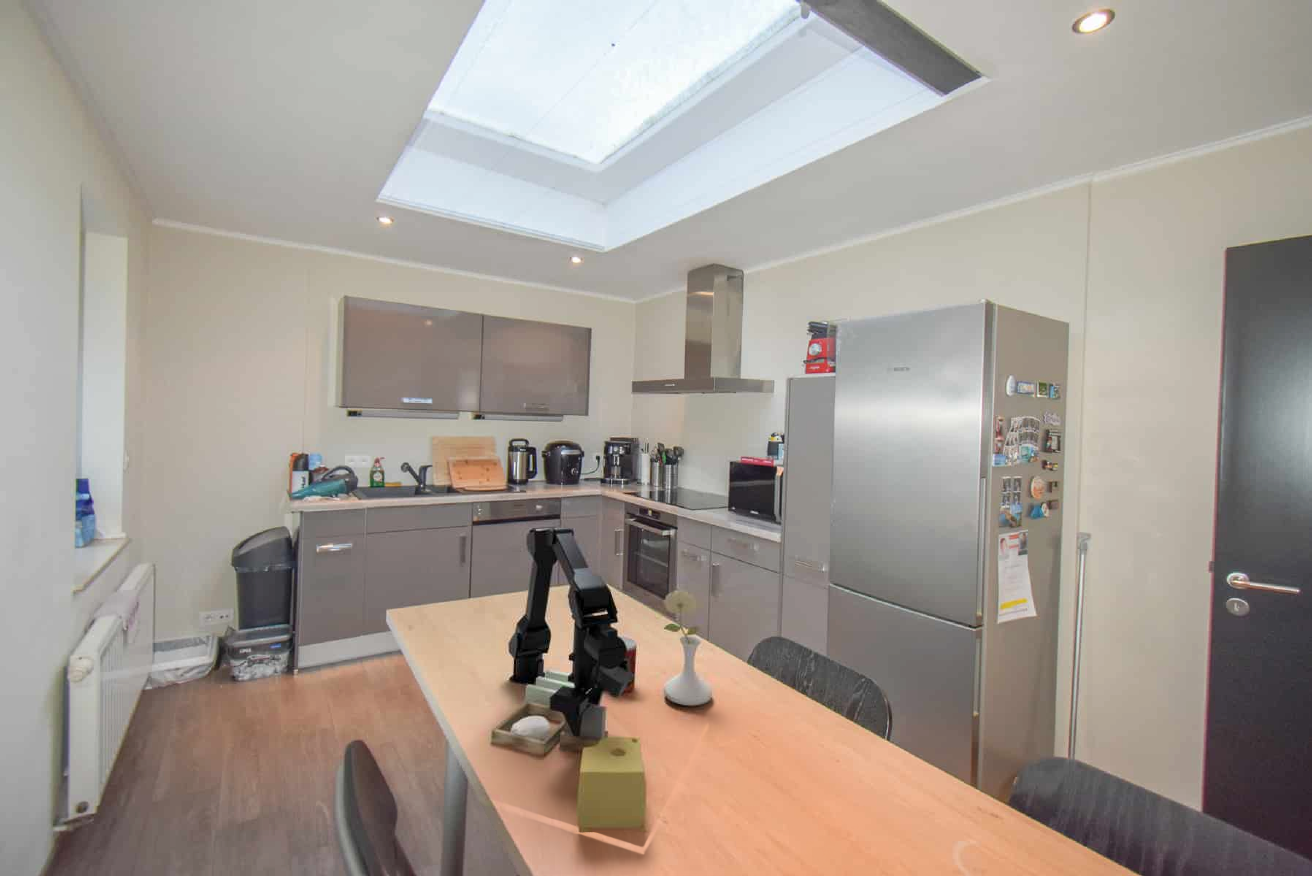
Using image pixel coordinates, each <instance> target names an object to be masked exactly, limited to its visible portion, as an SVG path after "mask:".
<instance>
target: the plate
mask: <svg viewBox="0 0 1312 876" xmlns="http://www.w3.org/2000/svg"><path fill="white" fill-rule="evenodd" d="M588 704H590V705H591V706H590V707H589V708H588V709H587V710H586V711H585V712H584V713H583V719H582V725H581V730H580V735H581V736H584V737H588V738H592V739H596V740H600V739H603V738H605V731H606V718H607V715H606V714H607V706H604V705H603V706H602V705H601V704H600V705H595V704H591V703H588ZM564 731H565V732H569V733H572V732H571V730H570V727H569V725H568V723H567V721H566V719H565V722H564Z"/></svg>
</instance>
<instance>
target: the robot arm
mask: <svg viewBox="0 0 1312 876" xmlns="http://www.w3.org/2000/svg"><path fill="white" fill-rule="evenodd" d="M574 533H575V532H574V530H573V527H569V526H544V527H543V526H542V527H532V528H531V529H530V530H529V532H528V533H527V534H526V546H527V551H528V553H529V556H530V557H531V559H532V564H531V570H530V571H531V573H530V579H529V584H528V585H529V586H528V592H527V599H526V606H525V612H524V613H525V614H523V615H522V617H521V618H520V620H518V621H517V623H516V626H515V631H514V633H513V635H512V636H511V638H510V640H509V642H508V646H507V647H508V653H509V655H510V657H512V658H513V666H512V667H513V669H512V675H511V676H510V677H509V679H508V681H512V682H516V683H519V684H525V685H528V684H531V685H535V684H536V678H537V677H539V676H540V677H544V676H546V671H544V670H545V669H544V668H545V667H544V666H545V660H544V659H543V657H544V654H549V649H550V646H551V639H552V631H551V628H550V626H549V625H548V623H547V621H546V616H547V615H546V614H547V607H548V602H549V595H550V590H551V589H550V587H551V583H552V577H553V576H552V575H553V568H554V565H555V564H556V563H557V562H559V564H560V566H561V568H562V572H563V573H564V576H565V577H566V580H567V582H568V585H569V589H568V594H567V598H568V606H569V609H570V612H571V619H573V620H574V625H573V643H572V645H573V648H572V649H573V650H572V652H571V653H569V654H568V661H571V662H572V671H571V673H570V675H569V676H568V682H573V683H574V687H575V688H570V687H566V686H562V687H561V688H560V689H559V690H558V691H557V692H555V693H554V694H553V695H552V696H551V697H550V698H549V708H550V710H554V711H558V712H562V713H563V715H564V717H565V719H566V721H567V723H568V725H569V727H570V730H571V732H572V734H573V736H575V737H579V735H580V730H581V725H582V719H583V713H584V712H585V711H586V710H587V709H588V708H589V707H590V706H591V705H590V704H588V703H591V704H595V705H600V706H601V701H602V700H603V699H602V698H603V695H604V692H606V691H607V692H606V693H608V692H609V694H610V696H612V697H614V698H618V697H620V696H621V695H622V694H621V693H622V692H623V691H624V690H625V689H626V686H627V684H628V681H629V680H630V678H631V677H632V675H631V673H632V671H631V666H630V661H628V660H627V659H625V656H626V652H627V647H626V645H625V642H624V641H623V640H622V639H621V638H620V637H621V636H620V635H618V633H619V632H618V629H616V628H614V627H612V626H611V625H612V624H618V622H619V618H618V615H617V614H618V613H619V612H618V609H617V605H616V603H615V600H614V597H613V594H612V591H611V589H610V587H609V586H608V584H607V583H606V581H605V580H604V579H603V577H602V576H601V575H599V574H597V573H596V572H594V571H592V570H591V568H590V566H589V564H588V563H587V561H586V559H585V557H584V555H583V552H582V550H581V549H580V547H579V545H578V543H577V541H576V539H575V534H574ZM605 612H606V613H605ZM601 613H603V614H601ZM604 613H605V614H604ZM594 614H595V615H594ZM619 636H620V637H619Z"/></svg>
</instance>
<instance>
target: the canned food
mask: <svg viewBox="0 0 1312 876" xmlns="http://www.w3.org/2000/svg"><path fill="white" fill-rule="evenodd" d="M618 636H619V637H620V638H621V639H622V640H623V641H624V642H625V645H626V647H627V652H626V656H625V659H627V660H628V661H630V666H631V671H632V673H631V675H632V677H631V678H630V680H629V681H628V684H627V686H626V689H625V690H624V691H623V692H622V693H621V694H620V695H626V694H629V693H631V692H632V691H633V690H634V687H635V683H636V667H637V665H636V664H637V663H636V661H637V642H636V640H634V639H632V638H631V637H626V636H620V635H618ZM605 692H606V693H609V692H607V691H605ZM609 694H610V693H609Z"/></svg>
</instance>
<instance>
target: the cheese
mask: <svg viewBox="0 0 1312 876" xmlns="http://www.w3.org/2000/svg"><path fill="white" fill-rule="evenodd" d="M641 742H642V741H641V737H632V736H629V737H626V736H612V737H611V736H610V737H609V736H608V737H607V738H603V739H600V741H599V742H598V744H597V745H596V746H593V747H585V748H584V749H583V753H582V755H581V761H580V769H579V778H578V779H579V781H578V790H577V809H576V810H577V813H576V814H577V825H578V833H596V831H594V830H591V829H611V828H614V829H615V828H616V829H617V828H620V829H621V828H643V823H644V819H645V814H646V807H647V806H646V804H647V781H646V774H645V767H644V762H643V758H642V751H641V750H642V746H641V744H642V743H641Z"/></svg>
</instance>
